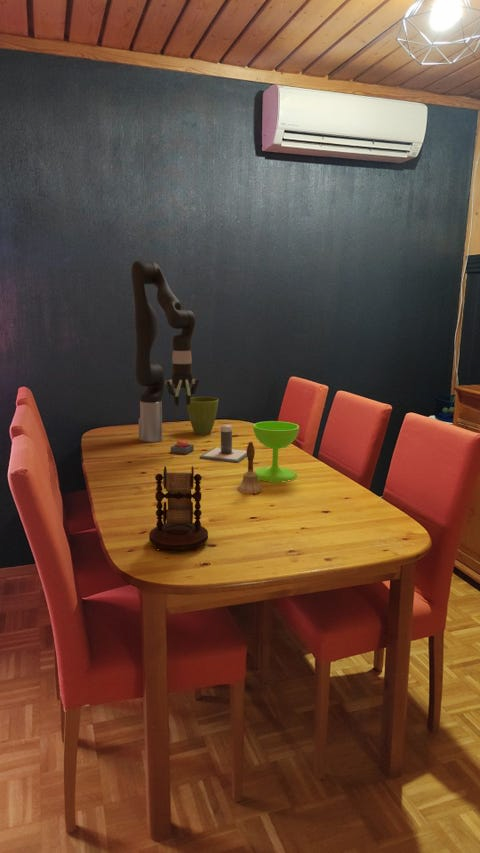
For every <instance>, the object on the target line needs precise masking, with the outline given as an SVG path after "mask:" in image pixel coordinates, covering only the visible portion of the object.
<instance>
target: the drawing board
mask: <svg viewBox="0 0 480 853" xmlns="http://www.w3.org/2000/svg"><path fill="white" fill-rule="evenodd" d="M246 458H247V449H246V450H245V449H235V448H232V453H231V454H221V447H218V446H217V447H216V446H215V447H213V448H212V449H210V450H208V451H207V452H205V453H203V454H201V455H199V459H201V460H202V459H203V460H211V461H217V462H219V461H220V462H228V463H234V464H235V463H236V464H237V463H238V464H239V463H240V462H242V461H243V460H244V459H246Z"/></svg>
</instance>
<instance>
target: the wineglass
mask: <svg viewBox="0 0 480 853" xmlns="http://www.w3.org/2000/svg"><path fill="white" fill-rule="evenodd" d="M299 430H300V426H299V424H296V423H295V422H294V423H293V422H289V421H278V420H269V421H268V420H267V421H260V422H256V423H253V432H254V435H255V438H256V440H258V441H259V443H260V444H262V445H263V446H264V447H266V448H269V449H272V463H271V464H272V465H271V466H268V467H266V466H265V467H260V468H257V469H256V470H253V472H255V473H256V474H257V477H258V479H259V480H258V481H260V480H263V481H262V482H265V481H271V482H270V483H273V482H281V483H283V482H282V481H288V480H292V479H295V478H296V477H297V478H298V475H297V472H295V471H294V470H291V469H289V468H285V467H279V464H278V463H279V461H278V460H279V450H280V449H284V448H287V447H289V446H290V445H291V444H293V442H294V441H295V440H296V439H297V438H298V435H299V432H300V431H299ZM295 480H296V479H295Z"/></svg>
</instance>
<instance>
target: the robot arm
mask: <svg viewBox="0 0 480 853" xmlns="http://www.w3.org/2000/svg"><path fill="white" fill-rule="evenodd" d="M131 282H132V291H133V300H134V313H135V315H134V323H135V345H136V347H135V349H136V350H135V351H136V353H135V354H136V356H135V370H134V371H135V380H136V382H137V384H139V386H141V387H146V389H145V390H144V391H143V392H142V393H141V394H140V396H139V410H140V412H139V413H140V414H139V415H140V417H139V418H138V441H141V442H144V443H155V442H156V443H157V442H161V441H163V409H162V408H163V407H162V406H163V405H162V403H163V402H162V399H163V395H164V390H165V389H164V388H165V387H164V386H166V388H167V392H168V394H169V395H171V396H172V397H173V404H174V405H175V406H176V407H178V406H179V405H180V404H179V403H180V402H179V401H180V400H179V399H180V398H179V393H180V391H181V389H184V392H185V394H186V395H185V406H187V405H189V404H190V398H191V396H192V395H195V394H196V391H197V389H198V385H199V379H196V378H193V375H192V373H193V372H192V367H193V366H192V364H193V363H192V362H193V359H192V345H191V344H192V336H193V333H194V329H195V326H196V316H195V314H194V312H193V311H192V310H189V309H186V310H185V309H182V304H181V302H180V300H179V299H178V298H177V296H176V295H175V294H174V292H173V291H172V289H171V288H170V286H169V283H168V282H167V278H166V277H165V275H164V272H163V271H162V269H161V267H160V266H159V264H157V262H155V261H146V260H144V261H143V260H135V261H134V262H133V263H132V265H131ZM145 285H154V286H155V287H156V288H157V293H156V299H157V302H158V304H159V306H160V307H161V309H163V311H164V314H165V317H166V320H167V323H168V325H169V326H170V327H171V328H172V329H174V330H175V329H177V330H179V329H180V330H181V329H182V330H181V332H180V334H176V335H174V336H173V338H172V355H171V356H172V357H171V358H172V359H171V360H172V361H171V362H172V363H171V364H172V366H171V367H172V368H171V371H172V374H171V378H170V379H168V380H167V379H165V373H164V370H163V367H162V366H161V365H160V364H158V363H151V354H152V353H151V352H152V349H153V346H154V344H155V341H156V339H157V336H158V334H159V332H158V331H159V329H158V328H159V327H158V315H157V313H156V311H155V310H154V308H153V306H152V304H151V303H150V301H149V300H148V297H147V295H146V289H145V288H146V286H145ZM191 383H192V385H191V388H190V384H191ZM172 384H173V385H174V387H172Z"/></svg>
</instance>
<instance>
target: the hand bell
mask: <svg viewBox="0 0 480 853" xmlns="http://www.w3.org/2000/svg"><path fill="white" fill-rule="evenodd" d="M246 450H247V457H246V458H247V471H246V472H244V473H243V476H242V477H243V478H242V482H241V484H239V486H237V488H236V489H237V491H238V492H239V491H240V492H239V493H242V492H245V493H244V494H247V493H255V492H259V491H262V489H263V487H262V486H261V485H260V483H259V480H258V477H257V474H256V473H255V472H254V458H255V452H256V451H255V446H254V443H253V442H252V441H249V442H248V444H247V448H246ZM262 492H263V491H262ZM255 494H256V493H255Z"/></svg>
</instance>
